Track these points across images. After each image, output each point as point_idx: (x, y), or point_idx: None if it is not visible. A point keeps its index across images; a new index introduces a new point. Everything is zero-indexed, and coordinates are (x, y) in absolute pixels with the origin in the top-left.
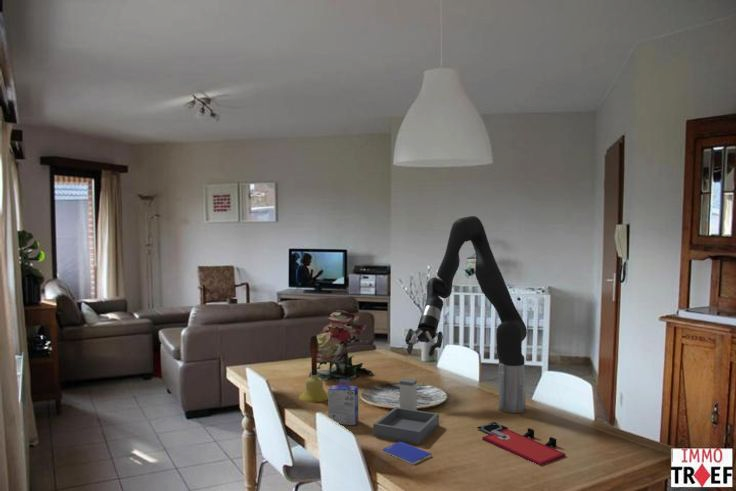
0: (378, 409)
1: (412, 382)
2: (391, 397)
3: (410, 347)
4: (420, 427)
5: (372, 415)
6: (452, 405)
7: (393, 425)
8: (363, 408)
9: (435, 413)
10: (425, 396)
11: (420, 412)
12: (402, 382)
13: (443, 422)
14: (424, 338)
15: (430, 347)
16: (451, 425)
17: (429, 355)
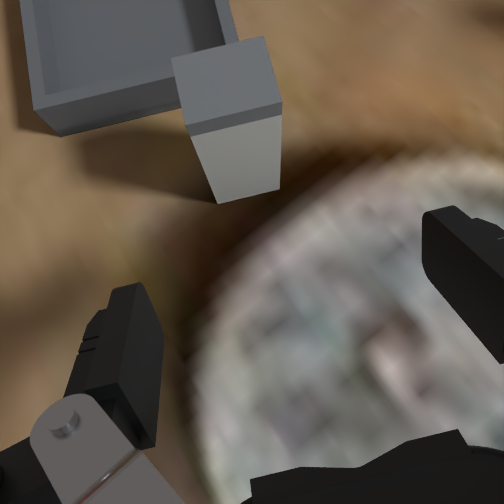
0: (379, 125)
1: (173, 61)
2: None
3: (461, 241)
4: (90, 48)
5: (346, 58)
6: None
7: (186, 2)
8: (440, 94)
9: (47, 104)
10: (325, 441)
11: (114, 80)
12: (244, 45)
13: (59, 175)
14: (323, 493)
15: (119, 352)
16: (17, 168)
17: (148, 307)
